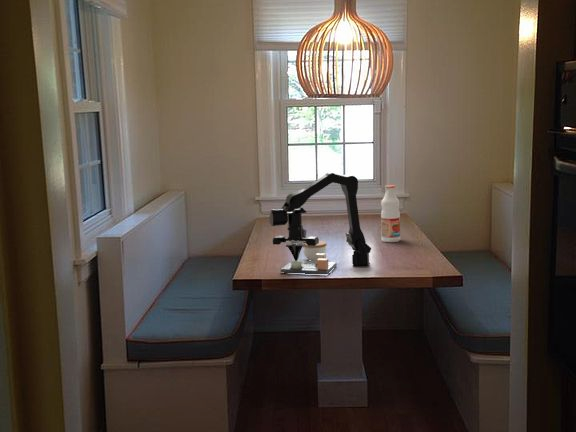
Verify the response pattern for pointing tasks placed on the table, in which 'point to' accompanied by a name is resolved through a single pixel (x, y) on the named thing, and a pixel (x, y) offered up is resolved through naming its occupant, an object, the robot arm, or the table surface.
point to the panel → (309, 268)
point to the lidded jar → (314, 250)
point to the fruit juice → (390, 216)
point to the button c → (296, 264)
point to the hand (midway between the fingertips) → (296, 260)
